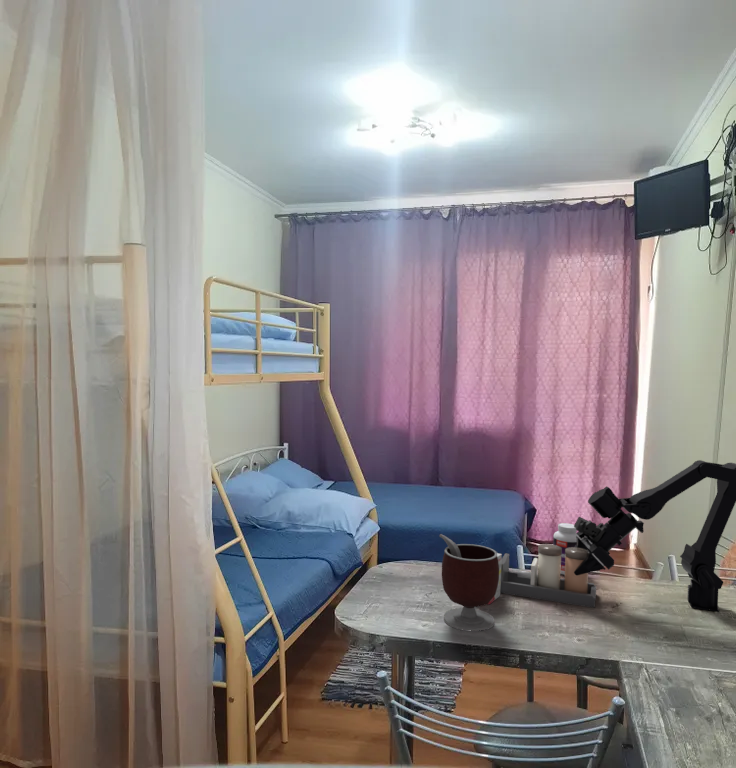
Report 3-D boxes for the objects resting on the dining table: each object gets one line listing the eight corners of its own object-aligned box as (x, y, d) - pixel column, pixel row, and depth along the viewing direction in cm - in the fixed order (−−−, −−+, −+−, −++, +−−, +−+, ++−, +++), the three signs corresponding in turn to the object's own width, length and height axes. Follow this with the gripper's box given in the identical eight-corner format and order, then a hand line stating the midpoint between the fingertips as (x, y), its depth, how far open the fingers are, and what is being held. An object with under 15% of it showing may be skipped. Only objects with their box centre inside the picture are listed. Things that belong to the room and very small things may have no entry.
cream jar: (561, 591, 171) (562, 545, 171) (559, 599, 166) (560, 551, 165) (538, 588, 174) (539, 542, 173) (535, 595, 168) (537, 548, 168)
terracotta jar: (591, 597, 167) (593, 550, 167) (581, 604, 163) (583, 555, 162) (569, 591, 171) (571, 545, 171) (559, 597, 167) (561, 550, 166)
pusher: (537, 586, 174) (538, 558, 174) (533, 594, 168) (534, 566, 167) (519, 583, 176) (520, 555, 176) (515, 591, 170) (516, 563, 169)
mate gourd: (506, 618, 153) (508, 538, 152) (483, 638, 141) (486, 552, 140) (450, 603, 161) (452, 528, 161) (424, 620, 150) (426, 540, 149)
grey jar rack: (595, 594, 170) (596, 565, 170) (594, 607, 160) (595, 577, 160) (504, 580, 179) (505, 553, 179) (497, 592, 170) (498, 563, 170)
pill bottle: (551, 574, 185) (553, 527, 185) (552, 566, 193) (553, 521, 193) (580, 577, 183) (581, 530, 183) (579, 569, 191) (580, 523, 190)
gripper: (585, 500, 175) (544, 536, 177) (602, 517, 157) (557, 557, 158) (612, 529, 174) (571, 565, 176) (633, 549, 156) (587, 589, 158)
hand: (571, 568), depth 167 cm, fingers open, 9 cm apart
